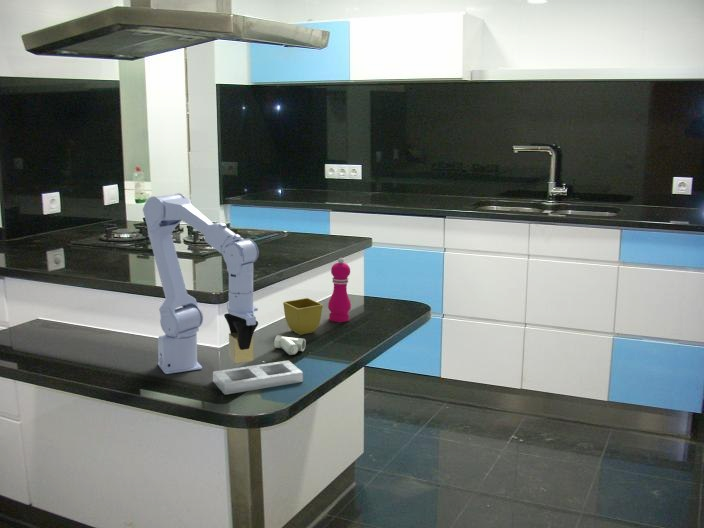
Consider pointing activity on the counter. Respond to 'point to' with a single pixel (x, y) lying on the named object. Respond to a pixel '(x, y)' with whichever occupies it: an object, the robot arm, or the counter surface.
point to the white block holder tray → (257, 377)
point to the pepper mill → (339, 293)
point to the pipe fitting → (290, 344)
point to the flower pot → (302, 315)
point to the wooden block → (239, 350)
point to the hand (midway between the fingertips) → (240, 345)
